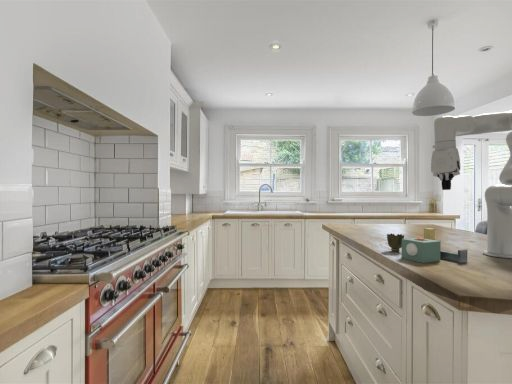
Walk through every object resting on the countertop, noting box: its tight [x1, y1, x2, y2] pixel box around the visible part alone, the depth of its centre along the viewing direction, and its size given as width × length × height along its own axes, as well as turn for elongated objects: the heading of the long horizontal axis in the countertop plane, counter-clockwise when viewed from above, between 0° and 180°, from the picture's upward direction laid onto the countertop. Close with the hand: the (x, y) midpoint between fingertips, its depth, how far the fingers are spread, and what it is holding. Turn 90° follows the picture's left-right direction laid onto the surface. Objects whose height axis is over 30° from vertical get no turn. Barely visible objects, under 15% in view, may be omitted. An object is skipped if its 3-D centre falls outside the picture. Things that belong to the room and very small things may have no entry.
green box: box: [401, 237, 441, 264], centre depth 123 cm, size 10×10×8 cm
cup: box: [386, 233, 405, 253], centre depth 139 cm, size 8×7×8 cm
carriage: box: [423, 227, 436, 240], centre depth 131 cm, size 6×6×11 cm
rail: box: [440, 248, 468, 264], centre depth 127 cm, size 4×19×5 cm, turn 24°
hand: (446, 189), depth 126 cm, fingers closed
